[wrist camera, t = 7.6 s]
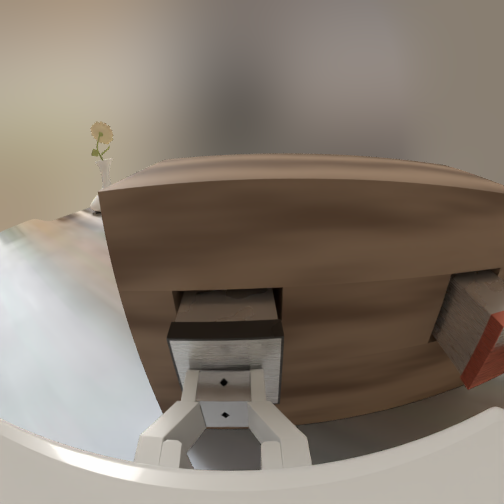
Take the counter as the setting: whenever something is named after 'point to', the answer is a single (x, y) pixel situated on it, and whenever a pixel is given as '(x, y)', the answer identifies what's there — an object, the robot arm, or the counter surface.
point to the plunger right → (473, 325)
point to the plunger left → (229, 335)
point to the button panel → (308, 265)
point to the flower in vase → (101, 135)
